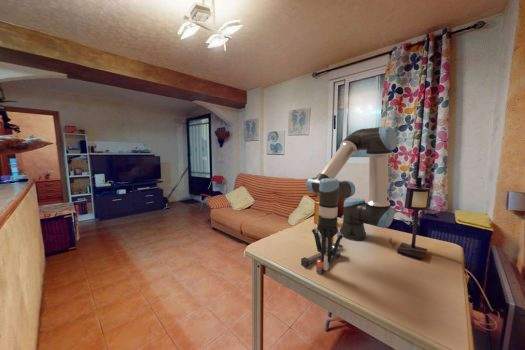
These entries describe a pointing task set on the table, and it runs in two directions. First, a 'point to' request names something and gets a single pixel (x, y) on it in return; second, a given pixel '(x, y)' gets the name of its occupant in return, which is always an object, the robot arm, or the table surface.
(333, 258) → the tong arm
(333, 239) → the cup
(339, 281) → the table surface
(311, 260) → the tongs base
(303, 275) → the table surface
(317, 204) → the baking soda box
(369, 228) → the table surface
